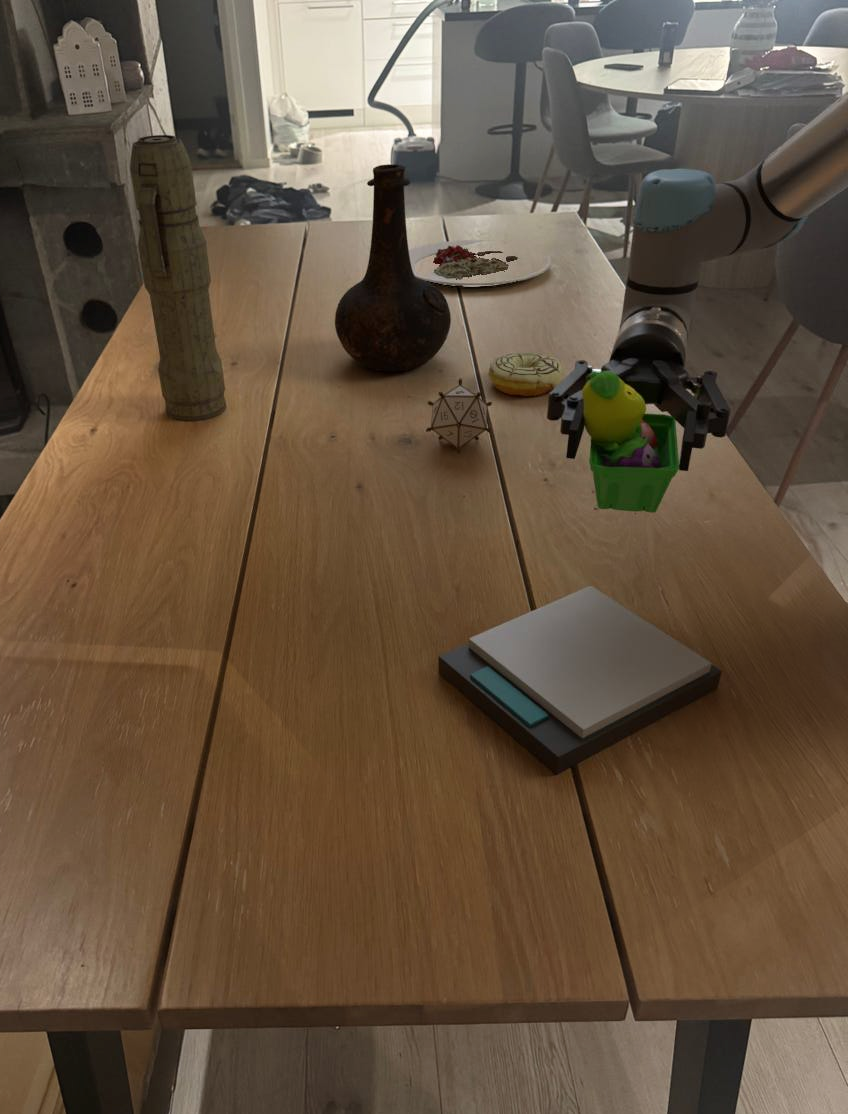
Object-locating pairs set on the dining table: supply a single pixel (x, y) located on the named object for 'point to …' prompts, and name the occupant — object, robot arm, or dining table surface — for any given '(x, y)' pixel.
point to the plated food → (462, 263)
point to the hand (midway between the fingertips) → (628, 450)
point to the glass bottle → (391, 292)
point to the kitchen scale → (576, 676)
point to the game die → (459, 416)
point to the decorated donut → (525, 374)
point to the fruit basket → (627, 446)
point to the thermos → (177, 278)
